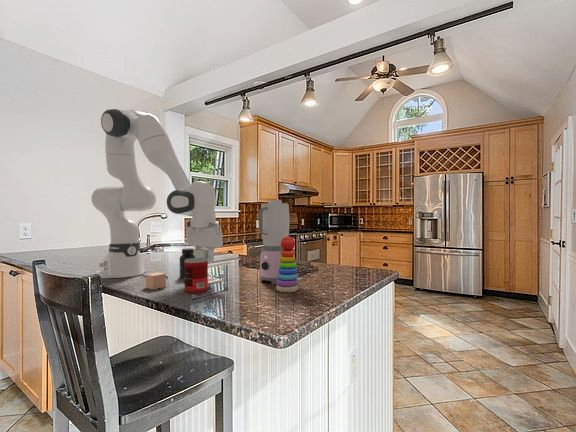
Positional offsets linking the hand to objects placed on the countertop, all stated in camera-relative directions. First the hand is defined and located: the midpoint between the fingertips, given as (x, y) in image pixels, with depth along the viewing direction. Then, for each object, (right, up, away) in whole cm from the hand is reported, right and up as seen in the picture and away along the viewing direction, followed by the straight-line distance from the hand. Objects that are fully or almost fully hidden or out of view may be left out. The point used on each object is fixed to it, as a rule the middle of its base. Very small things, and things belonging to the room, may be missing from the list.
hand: (204, 258), depth 122 cm
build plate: (0, -9, +1) cm, 9 cm away
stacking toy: (+32, -10, -13) cm, 36 cm away
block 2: (0, -2, 0) cm, 2 cm away
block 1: (-16, -10, -7) cm, 20 cm away
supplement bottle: (-10, -10, +11) cm, 18 cm away
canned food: (+1, -10, -12) cm, 16 cm away
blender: (+27, -9, +1) cm, 28 cm away
